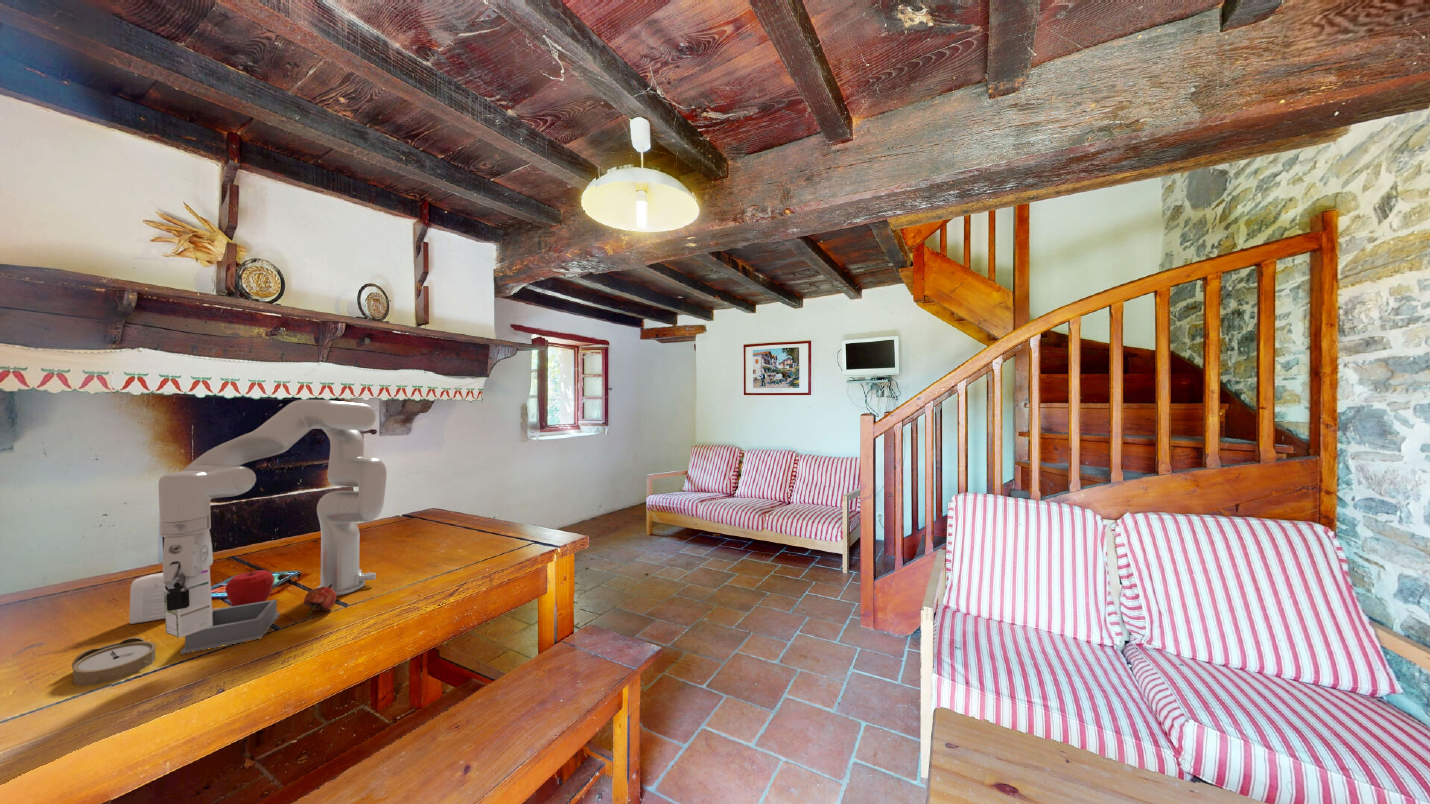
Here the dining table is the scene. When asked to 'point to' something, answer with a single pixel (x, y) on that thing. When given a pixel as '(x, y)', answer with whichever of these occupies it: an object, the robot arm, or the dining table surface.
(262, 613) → the grey square tray
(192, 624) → the syrup box
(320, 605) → the pomegranate
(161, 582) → the photo printer
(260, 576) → the apple
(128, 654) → the alarm clock
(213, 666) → the dining table surface
